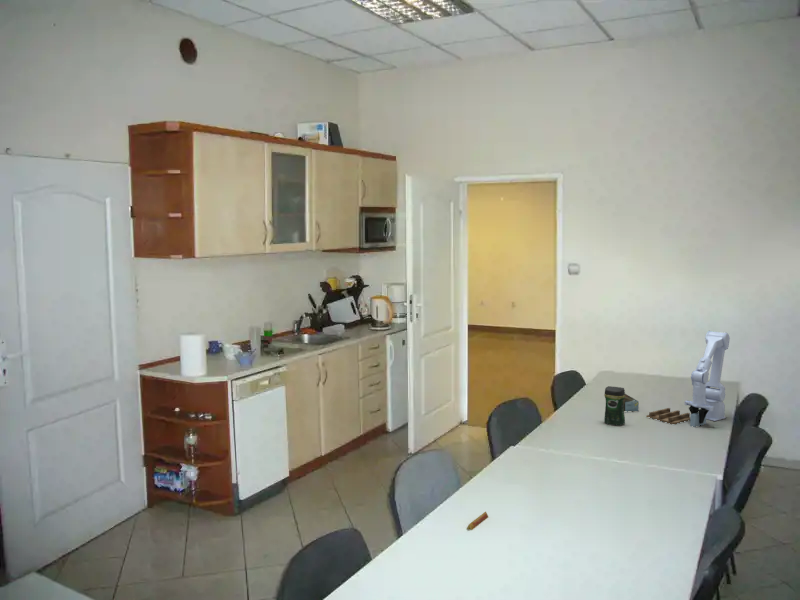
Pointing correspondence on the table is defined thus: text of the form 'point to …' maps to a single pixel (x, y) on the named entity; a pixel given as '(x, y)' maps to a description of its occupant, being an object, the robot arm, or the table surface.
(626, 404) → the beverage carton
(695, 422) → the tile
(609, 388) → the coffee jar
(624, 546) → the table surface
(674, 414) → the rack
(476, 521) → the pencil
